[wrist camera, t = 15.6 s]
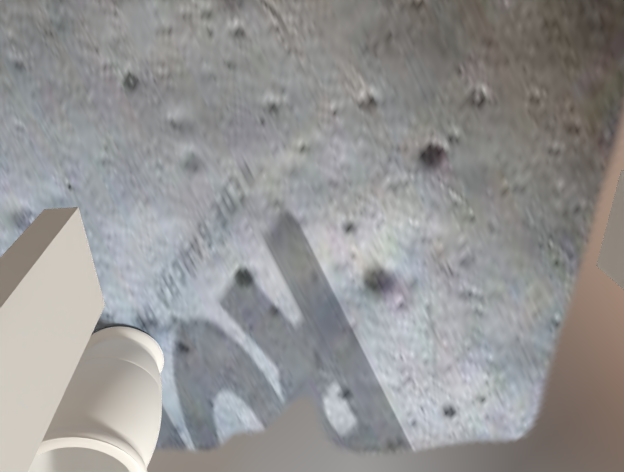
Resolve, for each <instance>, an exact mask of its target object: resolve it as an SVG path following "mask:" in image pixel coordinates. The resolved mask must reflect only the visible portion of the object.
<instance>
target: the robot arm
mask: <svg viewBox="0 0 624 472" xmlns="http://www.w3.org/2000/svg"><path fill="white" fill-rule="evenodd" d="M597 267H598V268H600V269H601V270H602V271H603V272H604V273H605V274H606V275H608V276H609V277H610V278H611V279H612V280H613V281H615V282H616V283H617V284H618V285H619V286H620V287H621V288H623V289H624V170H621V173H620V177H619V180H618V184H617V188H616V192H615V196H614V200H613V204H612V207H611V211H610V215H609V219H608V223H607V227H606V231H605V235H604V238H603V242H602V246H601V250H600V254H599V258H598V261H597ZM104 307H105V303H104V299H103V296H102V292H101V288H100V285H99V281H98V277H97V274H96V270H95V266H94V262H93V259H92V255H91V251H90V248H89V244H88V240H87V237H86V233H85V229H84V226H83V222H82V218H81V215H80V211H79V207H73V208H58V209H44V210H43V212H42V213H41V214H40V215H39V216H38V217H37V218H36V219H35V220H34V221H33V223H32V224H31V225H30V226H29V227H28V228H27V229H26V230H25V231H24V232H23V234H22V235H21V236H20V237H19V238H18V239H17V240H16V241H15V242H14V243H13V245H12V246H11V247H10V248H9V249H8V250H7V251H6V252H5V253H4V254H3V256H2V257H1V258H0V472H28V470H29V468H30V466H31V464H32V461H33V459H34V457H35V455H36V453H37V451H38V449H39V446H40V444H41V442H42V440H43V438H44V436H45V433H46V431H47V429H48V427H49V425H50V423H51V421H52V418H53V416H54V414H55V412H56V410H57V408H58V406H59V403H60V401H61V399H62V397H63V395H64V393H65V390H66V388H67V386H68V384H69V382H70V380H71V378H72V375H73V373H74V371H75V369H76V367H77V365H78V363H79V360H80V358H81V356H82V354H83V352H84V350H85V347H86V345H87V343H88V341H89V339H90V337H91V335H92V332H93V330H94V328H95V326H96V324H97V322H98V319H99V317H100V315H101V313H102V311H103V309H104Z"/></svg>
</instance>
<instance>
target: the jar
mask: <svg viewBox="0 0 624 472" xmlns="http://www.w3.org/2000/svg"><path fill="white" fill-rule="evenodd" d="M163 365H164V356H163V352H162V350H161V348H160V346H159V344H158V343H157V342H156V341H155V340H154V339H153V338H152V337H151V336H149V335H148V334H146V333H144V332H142V331H140V330H137V329H134V328H130V327H121V326H118V327H109V328H105V329H102V330H99V331H97V332H96V333H94V334H92V335H91V337H90V339H89V341H88V343H87V345H86V347H85V350H84V352H83V354H82V356H81V358H80V360H79V363H78V365H77V367H76V369H75V371H74V373H73V375H72V378H71V380H70V382H69V384H68V386H67V388H66V390H65V393H64V395H63V397H62V399H61V401H60V403H59V406H58V408H57V410H56V412H55V414H54V416H53V418H52V421H51V423H50V425H49V427H48V429H47V431H46V433H45V436H44V438H43V440H42V442H41V444H40V446H39V449H38V451H37V453H36V455H35V457H34V459H33V461H32V464H31V466H30V468H29V470H28V472H147V466H148V464H149V462H150V459H151V457H152V454H153V452H154V449H155V446H156V442H157V439H158V435H159V430H160V424H161V414H162V381H161V375H160V374H161V372H162V369H163Z"/></svg>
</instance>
